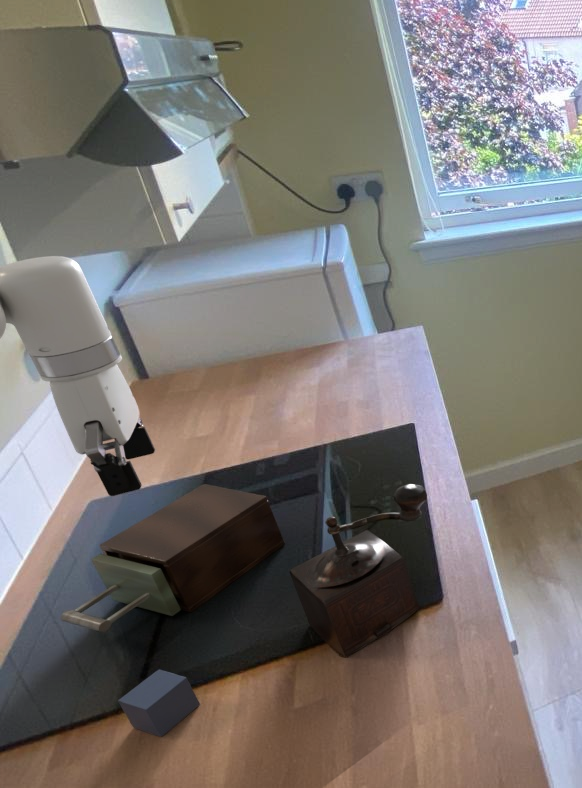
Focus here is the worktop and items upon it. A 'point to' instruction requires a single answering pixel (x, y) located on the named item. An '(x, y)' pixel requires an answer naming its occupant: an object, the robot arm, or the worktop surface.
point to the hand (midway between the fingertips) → (133, 473)
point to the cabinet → (203, 540)
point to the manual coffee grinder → (359, 581)
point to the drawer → (128, 590)
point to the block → (159, 702)
